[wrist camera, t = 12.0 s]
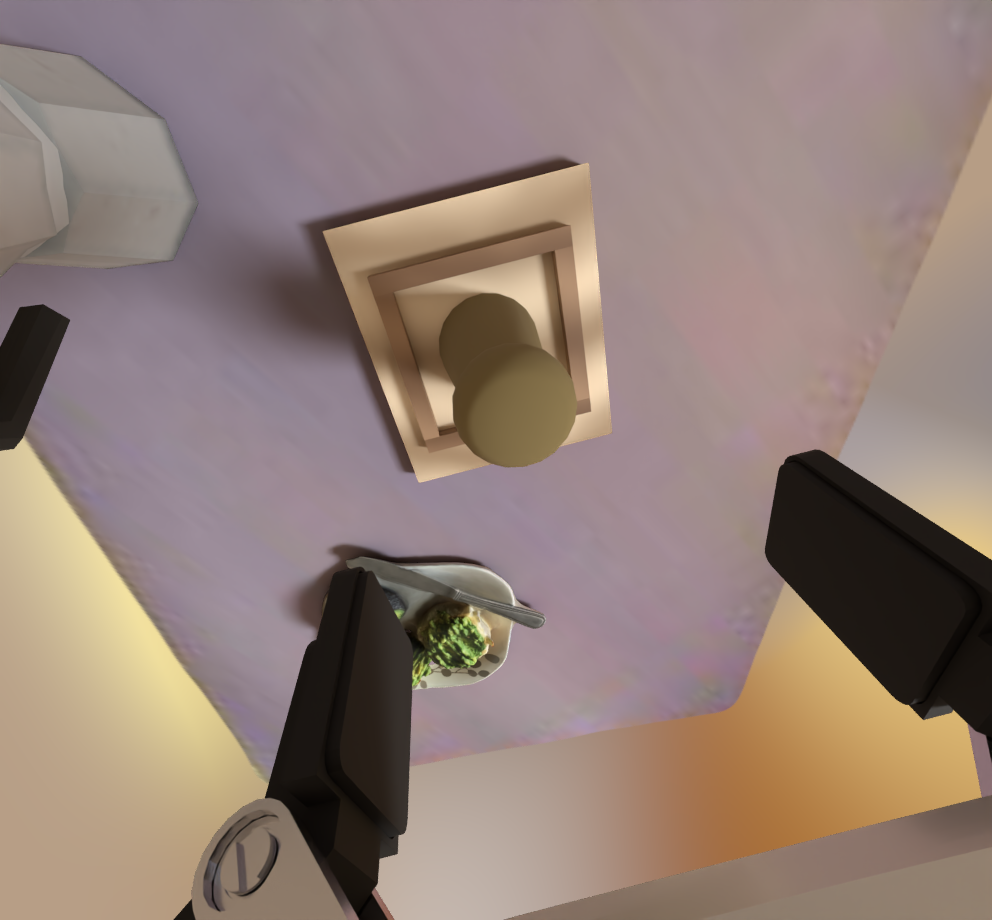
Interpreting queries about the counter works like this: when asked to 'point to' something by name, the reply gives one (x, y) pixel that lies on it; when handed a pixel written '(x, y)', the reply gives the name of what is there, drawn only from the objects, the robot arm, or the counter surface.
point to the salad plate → (451, 617)
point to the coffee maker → (75, 198)
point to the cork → (505, 382)
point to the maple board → (469, 272)
